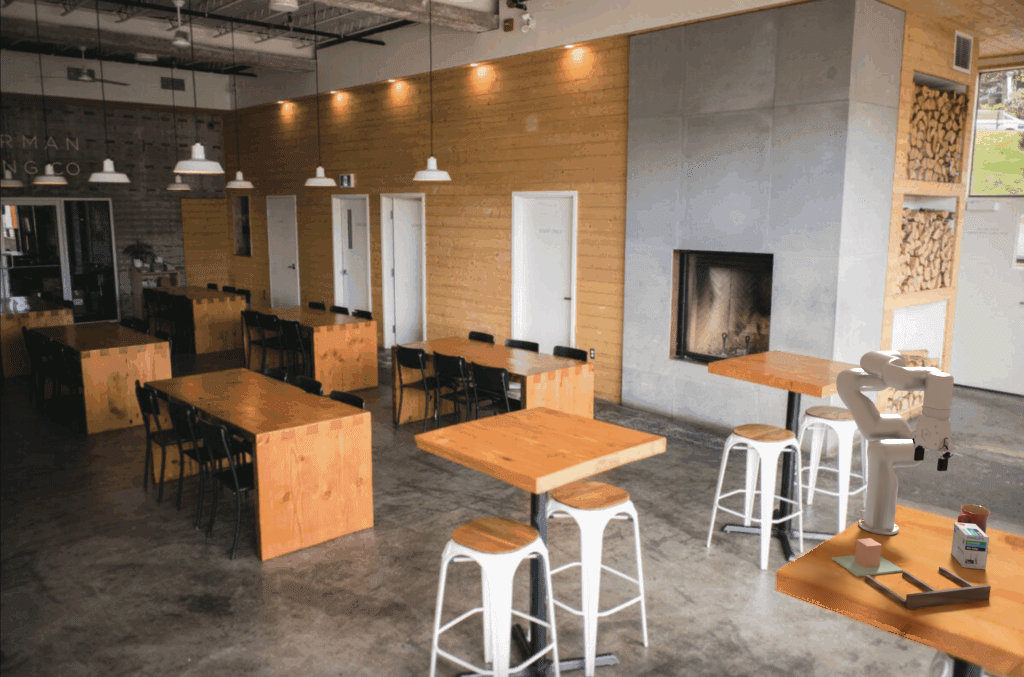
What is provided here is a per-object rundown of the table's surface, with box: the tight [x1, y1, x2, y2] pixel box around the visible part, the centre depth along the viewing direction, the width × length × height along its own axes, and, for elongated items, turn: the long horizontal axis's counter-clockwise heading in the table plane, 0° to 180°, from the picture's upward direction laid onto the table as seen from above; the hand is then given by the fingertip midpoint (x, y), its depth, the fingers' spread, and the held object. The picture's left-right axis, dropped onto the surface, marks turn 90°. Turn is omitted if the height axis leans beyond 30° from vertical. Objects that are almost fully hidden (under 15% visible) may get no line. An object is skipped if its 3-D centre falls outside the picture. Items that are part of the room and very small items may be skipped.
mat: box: [831, 554, 904, 578], centre depth 234 cm, size 12×16×1 cm
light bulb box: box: [950, 521, 990, 570], centre depth 237 cm, size 11×7×11 cm, turn 169°
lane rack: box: [864, 566, 992, 611], centre depth 219 cm, size 18×27×4 cm, turn 103°
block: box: [854, 537, 883, 568], centre depth 234 cm, size 5×5×7 cm
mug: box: [956, 504, 992, 535], centre depth 254 cm, size 12×9×10 cm
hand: (930, 465), depth 236 cm, fingers open, 9 cm apart
